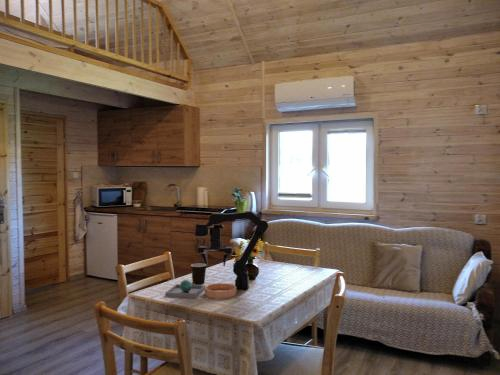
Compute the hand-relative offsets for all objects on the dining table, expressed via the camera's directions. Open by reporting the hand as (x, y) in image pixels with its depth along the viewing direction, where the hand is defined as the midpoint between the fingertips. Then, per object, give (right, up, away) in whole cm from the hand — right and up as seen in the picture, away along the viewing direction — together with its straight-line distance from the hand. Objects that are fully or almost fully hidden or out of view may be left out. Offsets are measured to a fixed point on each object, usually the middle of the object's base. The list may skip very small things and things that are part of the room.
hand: (215, 265), depth 228 cm
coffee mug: (-10, -12, +13) cm, 20 cm away
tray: (-15, -12, -8) cm, 21 cm away
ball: (-15, -9, -8) cm, 19 cm away
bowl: (+3, -12, -10) cm, 16 cm away
